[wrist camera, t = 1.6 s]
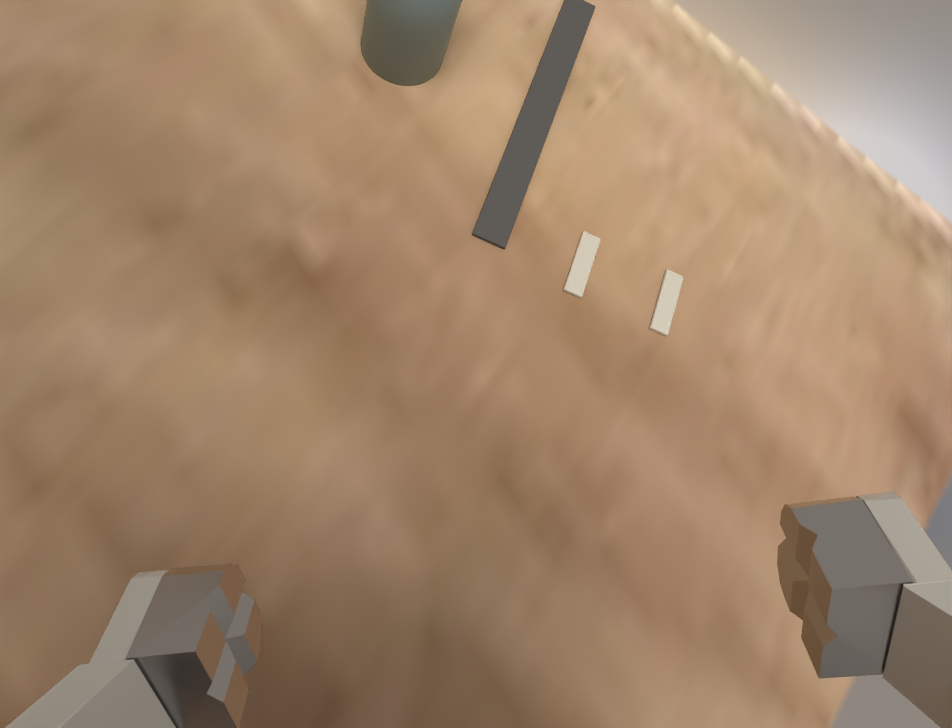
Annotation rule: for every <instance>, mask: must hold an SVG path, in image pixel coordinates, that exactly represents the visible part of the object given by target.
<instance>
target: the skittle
mask: <svg viewBox="0 0 952 728" xmlns="http://www.w3.org/2000/svg"><path fill="white" fill-rule="evenodd" d="M461 2H462V0H367V6H366V12H365V18H364V25H363V31H362V37H361V51H362V55H363V57H364V59H365V61H366V63H367V64H368V66H369V67H370V68H371V69H372V70H373V72H375V73H376V74H377V75H378V76H380V77H381V78H383V79H385V80H387V81H389V82H391V83H394V84H398V85H406V86H411V85H418V84H421V83H424V82H426V81H428V80H430V79H431V78H432V77H433V76H435V74H436V73H437V72H438V70H439V69H440V66H441V63H442V60H443V57H444V54H445V51H446V48H447V45H448V42H449V39H450V36H451V32H452V29H453V26H454V23H455V20H456V17H457V14H458V11H459V8H460V5H461Z"/></svg>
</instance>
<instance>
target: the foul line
mask: <svg viewBox="0 0 952 728" xmlns="http://www.w3.org/2000/svg"><path fill="white" fill-rule="evenodd" d="M594 9H595V6H594V5H592V4H590V3H588V2H586V1H584V0H564V3H563V5H562V8H561V10H560V13H559V15H558V18H557V21H556V23H555V26H554V28H553V31H552V33H551V36H550V38H549V41H548V43H547V46H546V48H545V51H544V53H543V56H542V59H541V61H540V64H539V66H538V69H537V71H536V74H535V76H534V79H533V81H532V84H531V86H530V89H529V91H528V94H527V97H526V99H525V102H524V104H523V107H522V109H521V112H520V114H519V117H518V119H517V122H516V124H515V127H514V129H513V132H512V135H511V137H510V140H509V142H508V145H507V147H506V150H505V152H504V155H503V157H502V160H501V162H500V165H499V167H498V170H497V173H496V175H495V178H494V180H493V183H492V185H491V188H490V190H489V193H488V195H487V198H486V200H485V203H484V205H483V208H482V211H481V213H480V216H479V218H478V221H477V223H476V226H475V228H474V231H473V233H472V235H473V236H476V237H478V238H480V239H482V240H485V241H487V242H489V243H491V244H494V245H496V246H498V247H500V248H503V249H505V247H506V244H507V241H508V239H509V236H510V233H511V231H512V228H513V225H514V223H515V220H516V217H517V215H518V212H519V209H520V207H521V204H522V201H523V199H524V196H525V193H526V191H527V188H528V185H529V183H530V180H531V177H532V175H533V172H534V169H535V167H536V164H537V161H538V159H539V156H540V153H541V151H542V148H543V145H544V143H545V140H546V137H547V135H548V132H549V129H550V127H551V124H552V121H553V118H554V116H555V113H556V110H557V108H558V105H559V102H560V100H561V97H562V94H563V92H564V89H565V86H566V84H567V81H568V78H569V76H570V73H571V70H572V68H573V65H574V62H575V60H576V57H577V54H578V52H579V49H580V46H581V44H582V41H583V38H584V36H585V33H586V30H587V28H588V25H589V22H590V20H591V17H592V14H593V12H594Z"/></svg>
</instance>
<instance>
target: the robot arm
mask: <svg viewBox="0 0 952 728" xmlns="http://www.w3.org/2000/svg"><path fill="white" fill-rule="evenodd" d="M780 525H781V527H782V530H783V532H784V534H785V536H786V539H785V540H784V541H783V542H782V543H781V544H780V545H779V546H778V557H777V565H778V573H779V580H780V584H781V588H782V591H783V594H784V597H785V600H786V602H787V605H788V607H789V610H790V611H791V612H792V613H794V614H795V615H796V616H798V617H799V618H800V619H802V620H803V625H802V634H801V638H802V641H803V643H804V645H805V647H806V650H807V652H808V654H809V657H810V659H811V661H812V664H813V666H814V668H815V671H816V673H817V675H818V678H833V677H850V676H866V675H880V674H881V675H882V674H883V678H884V679H885V680H886V681H887V682H888V683H890V684H891V685H892V686H893V687H894V688H895V689H897V690H898V691H899V692H900V693H901V694H903V695H904V696H905V697H906V698H907V699H909V701H911V702H912V703H913V704H914V705H915V706H916V707H918V708H919V709H920V710H921V711H922V712H923V713H925V714H926V715H927V716H928V717H929V718H930V719H931V720H933V721H934V722H935V723H936V724H937V725H938V726H940V727H941V728H952V571H951V569H950V568H949V566H948V565H947V563H946V562H945V560H944V559H943V558H942V556H941V555H940V553H939V552H938V550H937V549H936V547H935V546H934V544H933V543H932V542H931V540H930V539H929V537H928V536H927V534H926V533H925V531H924V530H923V528H922V527H921V526H920V524H919V523H918V521H917V520H916V518H915V517H914V515H913V514H912V513H911V511H910V510H909V508H908V507H907V505H906V504H905V502H904V501H903V499H902V498H901V497H900V496H899V495H897V494H896V493H894V492H887V493H879V494H870V495H861V496H856V497H844V498H835V499H827V500H818V501H810V502H801V503H793V504H785V505H784V507H783V509H782V511H781V519H780ZM244 584H245V578H244V576H243V574H242V572H241V570H240V568H239V566H238V565H233V564H226V565H214V566H201V567H189V568H177V569H170V570H160V571H147V572H139V573H137V574H136V575H135V576H134V577H133V578H132V579H131V580H130V581H129V583H128V585H127V587H126V589H125V591H124V593H123V595H122V597H121V599H120V601H119V603H118V605H117V607H116V609H115V611H114V613H113V615H112V617H111V620H110V622H109V624H108V626H107V628H106V630H105V632H104V634H103V636H102V638H101V640H100V642H99V644H98V646H97V648H96V650H95V652H94V654H93V656H92V658H91V660H90V662H89V664H81V665H78V666H77V667H76V668H75V669H74V670H72V671H71V672H70V673H69V674H68V675H66V676H65V677H64V678H63V679H62V680H61V681H59V682H58V683H57V684H56V685H55V686H54V687H52V688H51V689H50V690H49V691H48V692H46V693H45V694H44V695H43V696H42V697H41V698H39V699H38V700H37V701H36V702H35V703H34V704H32V705H31V706H30V707H29V708H28V709H26V710H25V711H24V712H23V713H22V714H21V715H19V716H18V717H17V718H16V719H15V720H14V721H12V722H11V723H10V724H9V725H8V726H6V727H5V728H239V724H240V721H241V717H242V714H243V710H244V707H245V703H246V700H247V696H248V693H249V689H250V688H249V686H248V684H247V682H246V680H245V678H244V675H245V674H246V673H247V672H248V671H249V670H250V669H251V668H252V667H253V666H254V665H255V664H256V663H257V660H258V656H259V652H260V649H261V645H262V622H261V616H260V611H259V609H258V607H257V604H256V602H255V600H254V599H252V598H251V597H249V596H248V595H246V594H244V593H243V592H242V590H243V587H244Z"/></svg>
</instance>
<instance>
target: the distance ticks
mask: <svg viewBox="0 0 952 728" xmlns="http://www.w3.org/2000/svg"><path fill="white" fill-rule="evenodd" d="M599 242H600V238H597V237H595V236H593V235H591V234H589V233H586V232H584V231H583V233H582V235H581V238H580V241H579V244H578V247H577V250H576V253H575V256H574V259H573V262H572V265H571V268H570V271H569V274H568V277H567V280H566V283H565V286H564V289H563V291H565V292H567V293H570V294H572V295H574V296H576V297H579V298H581V297H582V295H583V292H584V289H585V286H586V282H587V279H588V276H589V273H590V270H591V267H592V264H593V261H594V258H595V255H596V252H597V249H598V245H599ZM682 281H683V276H681V275H679V274H676V273H674V272H672V271H670V270H668V269H667V270H666V271H665V274H664V278H663V281H662V285H661V288H660V292H659V295H658V299H657V302H656V306H655V309H654V313H653V316H652V320H651V323H650V327H649V329H651V330H653V331H655V332H658V333H660V334H662V335H664V336H667V335H668V332H669V328H670V325H671V321H672V317H673V314H674V310H675V306H676V303H677V299H678V295H679V292H680V288H681V284H682Z"/></svg>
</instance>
